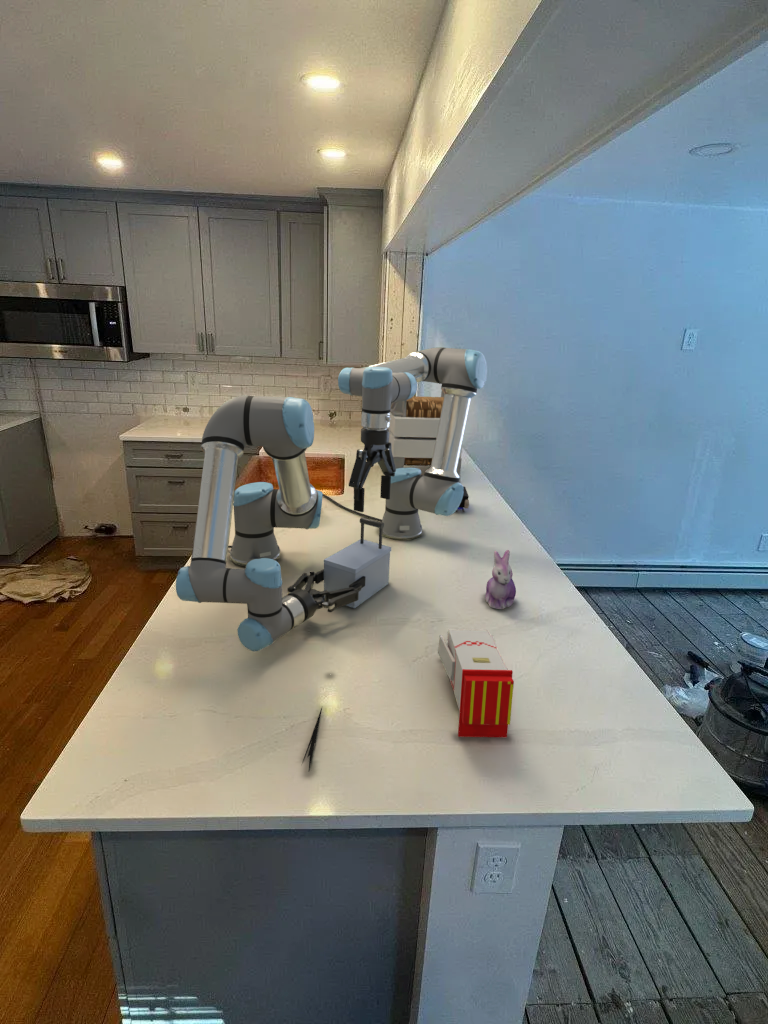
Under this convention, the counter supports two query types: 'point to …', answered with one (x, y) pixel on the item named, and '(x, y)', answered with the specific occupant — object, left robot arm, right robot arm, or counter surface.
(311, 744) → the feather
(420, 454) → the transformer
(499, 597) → the figurine
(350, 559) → the lid
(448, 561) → the counter surface
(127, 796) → the counter surface
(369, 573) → the chest
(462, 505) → the figurine character
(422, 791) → the counter surface
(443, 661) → the toy
